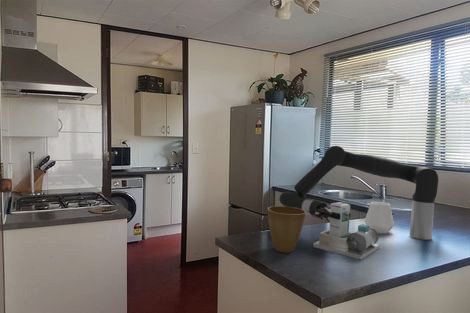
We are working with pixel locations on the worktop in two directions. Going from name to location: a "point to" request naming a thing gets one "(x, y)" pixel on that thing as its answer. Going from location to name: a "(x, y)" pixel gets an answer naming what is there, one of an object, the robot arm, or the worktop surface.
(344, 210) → the syrup box
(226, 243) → the worktop surface
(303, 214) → the plant pot
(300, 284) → the worktop surface
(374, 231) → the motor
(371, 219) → the cup
